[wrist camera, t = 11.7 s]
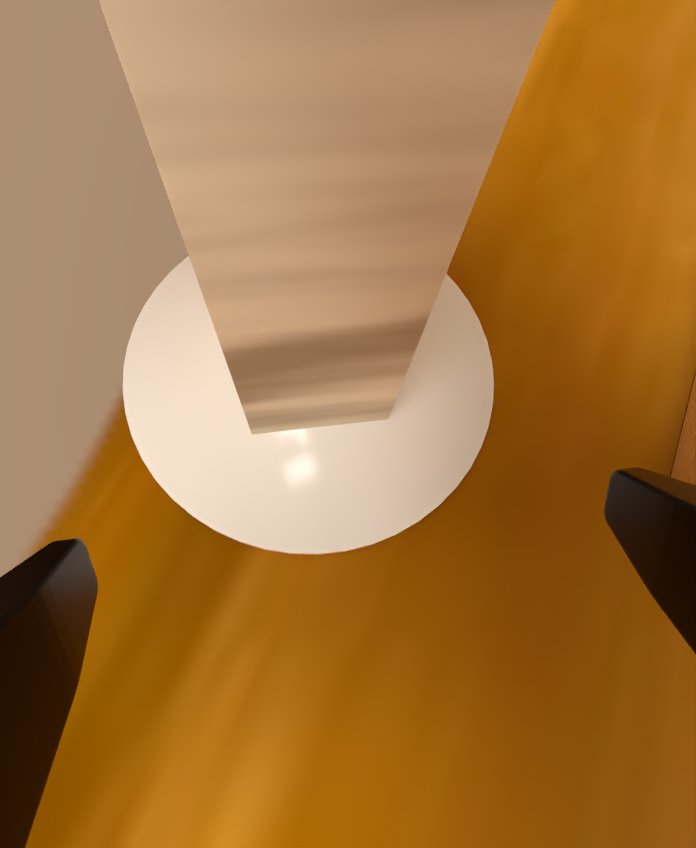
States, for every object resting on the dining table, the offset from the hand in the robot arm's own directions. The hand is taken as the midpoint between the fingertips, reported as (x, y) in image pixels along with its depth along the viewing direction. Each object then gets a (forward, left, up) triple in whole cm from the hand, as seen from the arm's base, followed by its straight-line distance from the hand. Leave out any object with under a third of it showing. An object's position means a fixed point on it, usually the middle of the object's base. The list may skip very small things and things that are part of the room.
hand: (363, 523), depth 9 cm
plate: (-1, +7, -9) cm, 12 cm away
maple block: (-1, +7, -9) cm, 12 cm away
